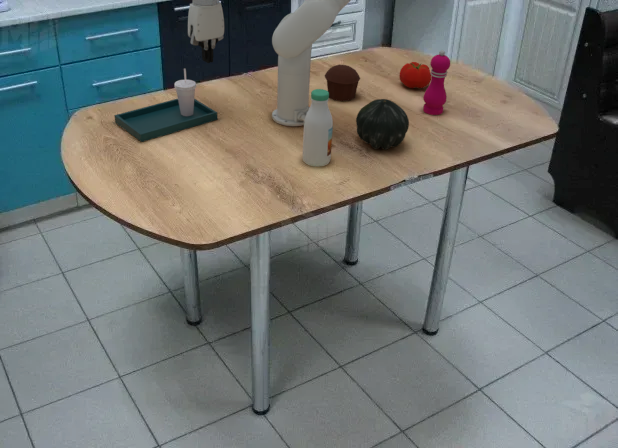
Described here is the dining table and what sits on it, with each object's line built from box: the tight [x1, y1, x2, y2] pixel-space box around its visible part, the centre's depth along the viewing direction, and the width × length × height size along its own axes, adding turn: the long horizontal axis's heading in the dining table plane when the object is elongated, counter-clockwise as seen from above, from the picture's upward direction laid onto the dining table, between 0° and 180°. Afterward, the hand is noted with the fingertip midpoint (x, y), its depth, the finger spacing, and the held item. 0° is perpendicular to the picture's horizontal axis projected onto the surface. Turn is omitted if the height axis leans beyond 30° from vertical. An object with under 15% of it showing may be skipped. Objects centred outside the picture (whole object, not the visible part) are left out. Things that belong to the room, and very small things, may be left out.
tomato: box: [399, 61, 432, 89], centre depth 229 cm, size 11×11×8 cm
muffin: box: [324, 64, 361, 102], centre depth 218 cm, size 12×11×10 cm
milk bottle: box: [302, 88, 334, 167], centre depth 178 cm, size 8×8×20 cm
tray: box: [113, 98, 219, 143], centre depth 199 cm, size 16×26×2 cm, turn 131°
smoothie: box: [173, 68, 197, 116], centre depth 200 cm, size 6×6×14 cm
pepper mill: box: [422, 49, 451, 116], centre depth 209 cm, size 7×7×20 cm
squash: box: [355, 98, 410, 151], centre depth 190 cm, size 14×15×15 cm
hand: (207, 61), depth 200 cm, fingers closed
